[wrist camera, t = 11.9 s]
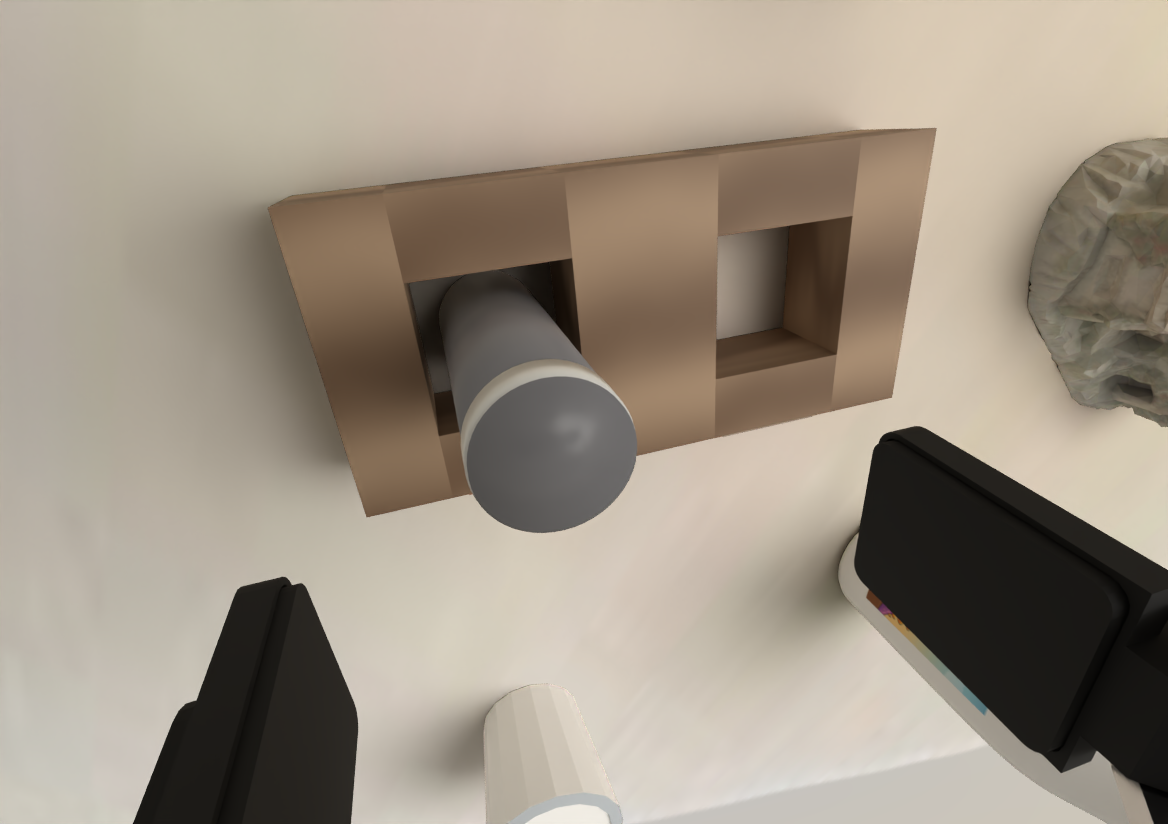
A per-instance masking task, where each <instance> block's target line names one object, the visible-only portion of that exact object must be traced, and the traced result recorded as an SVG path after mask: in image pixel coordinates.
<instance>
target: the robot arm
mask: <svg viewBox="0 0 1168 824" xmlns="http://www.w3.org/2000/svg"><path fill="white" fill-rule="evenodd" d="M854 567H855V571H856V574H857V576H858V577H859V579H860V580H861V582H862V583H863V584H864V585H865V586H866V587H867V588H868V589H869V590H870V591H871V592H872V593H873V594H874V595H875V596H876V597H877V598H878V599H879V600H880V601H881V602H882V603H883V604H884V605H885V606H886V607H887V608H888V609H889V610H890V611H891V612H892V613H893V614H894V615H895V616H896V617H897V618H898V619H899V620H900V621H901V622H902V623H903V624H904V625H905V626H906V627H907V628H908V629H909V630H910V631H911V632H912V633H913V634H914V635H915V636H916V637H917V638H918V639H919V640H920V641H921V642H922V643H923V644H924V645H925V646H926V647H927V648H928V649H929V650H930V651H931V652H932V653H933V654H934V655H935V656H936V657H937V658H938V659H939V660H940V661H941V662H942V663H943V664H944V665H945V666H946V667H947V668H948V669H949V670H950V671H951V672H952V673H953V674H954V675H955V676H956V677H957V678H958V679H959V680H960V681H961V682H962V683H963V684H964V685H965V686H966V687H967V688H968V689H969V690H970V691H971V692H972V693H973V694H974V695H975V696H976V697H977V698H978V699H979V700H980V701H981V702H982V703H983V704H984V705H985V706H986V707H987V708H988V709H989V710H990V711H991V712H992V713H993V714H994V715H995V716H996V717H997V718H998V719H999V720H1000V721H1001V722H1002V723H1003V724H1004V725H1005V726H1006V727H1007V728H1008V729H1009V730H1010V731H1011V732H1012V733H1013V734H1014V735H1015V736H1016V737H1017V738H1018V739H1019V740H1020V741H1021V742H1022V743H1023V744H1024V745H1025V746H1026V747H1027V748H1029V749H1031V750H1032V751H1034V752H1037V753H1040V754H1042V755H1043V756H1044V757H1045V758H1046V759H1047V760H1048V761H1049V762H1050V763H1051V764H1052V765H1053V766H1054V767H1055V768H1056V769H1057V770H1058V771H1059V772H1060V773H1063V772H1066V771H1068V770H1071V769H1073V768H1076V767H1078V766H1081V765H1083V764H1086V763H1088V762H1091V761H1092V759H1093V757H1094V755H1095V753H1096V751H1098V752H1099V753H1100V754H1101V755H1102V756H1104V757H1105V758H1106V759H1107V760H1108V761H1109V762H1110V763H1111V768H1112V772H1113V775H1114V778H1115V781H1116V784H1117V787H1118V790H1119V793H1120V796H1121V799H1122V802H1123V806H1124V809H1125V812H1126V815H1127V818H1128V821H1129V824H1168V570H1167V569H1165V568H1163V567H1162V566H1160V565H1158V564H1156V563H1155V562H1153V561H1151V560H1150V559H1148V558H1146V557H1145V556H1143V555H1141V554H1139V553H1138V552H1136V551H1134V550H1133V549H1131V548H1129V547H1127V546H1126V545H1124V544H1122V543H1121V542H1119V541H1117V540H1115V539H1114V538H1112V537H1110V536H1109V535H1107V534H1105V533H1103V532H1102V531H1100V530H1098V529H1097V528H1095V527H1093V526H1092V525H1090V524H1088V523H1086V522H1085V521H1083V520H1081V519H1080V518H1078V517H1076V516H1074V515H1073V514H1071V513H1069V512H1068V511H1066V510H1064V509H1062V508H1061V507H1059V506H1057V505H1056V504H1054V503H1052V502H1050V501H1049V500H1047V499H1045V498H1044V497H1042V496H1040V495H1038V494H1037V493H1035V492H1033V491H1032V490H1030V489H1028V488H1027V487H1025V486H1023V485H1021V484H1020V483H1018V482H1016V481H1015V480H1013V479H1011V478H1009V477H1008V476H1006V475H1004V474H1003V473H1001V472H999V471H997V470H996V469H994V468H992V467H991V466H989V465H987V464H985V463H984V462H982V461H980V460H979V459H977V458H975V457H973V456H972V455H970V454H968V453H967V452H965V451H963V450H962V449H960V448H958V447H956V446H955V445H953V444H951V443H950V442H948V441H946V440H944V439H943V438H941V437H939V436H938V435H936V434H934V433H932V432H931V431H929V430H927V429H925V428H923V427H920V426H914V427H910V428H906V429H901V430H897V431H893V432H889V433H886V434H884V435H883V436H882V437H881V439H880V441H879V444H877V445H876V446H875V448H874V450H873V455H872V460H871V466H870V472H869V477H868V483H867V489H866V495H865V500H864V506H863V512H862V517H861V523H860V529H859V535H858V540H857V546H856V552H855V557H854ZM357 738H358V718H357V712H356V707H355V704H354V701H353V699H352V697H351V694H350V692H349V689H348V687H347V685H346V682H345V680H344V677H343V675H342V673H341V670H340V668H339V665H338V663H337V661H336V658H335V656H334V653H333V651H332V649H331V646H330V644H329V641H328V639H327V637H326V634H325V632H324V629H323V627H322V625H321V622H320V620H319V617H318V615H317V613H316V610H315V608H314V605H313V603H312V601H311V598H310V596H309V593H308V591H307V589H306V587H305V586H304V585H303V584H301V583H300V584H296V585H292V584H291V583H290V581H289V580H288V579H287V578H286V577H280V578H276V579H272V580H268V581H263V582H259V583H255V584H251V585H247V586H242V587H240V588H239V589H238V590H237V592H236V594H235V596H234V599H233V601H232V604H231V607H230V610H229V612H228V615H227V618H226V621H225V623H224V626H223V629H222V632H221V634H220V637H219V640H218V643H217V645H216V648H215V651H214V654H213V656H212V659H211V662H210V665H209V667H208V670H207V673H206V676H205V679H204V681H203V684H202V687H201V690H200V692H199V695H198V698H197V701H193V702H190V703H186V704H185V705H184V706H183V707H182V708H181V709H180V710H179V711H178V713H177V715H176V717H175V719H174V721H173V723H172V725H171V727H170V730H169V733H168V735H167V738H166V740H165V743H164V745H163V748H162V751H161V753H160V756H159V758H158V761H157V763H156V766H155V768H154V771H153V774H152V776H151V779H150V781H149V784H148V786H147V789H146V792H145V794H144V797H143V799H142V802H141V804H140V807H139V810H138V812H137V815H136V817H135V820H134V822H133V824H351V814H352V802H353V789H354V776H355V763H356V751H357Z"/></svg>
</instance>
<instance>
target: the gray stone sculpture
mask: <svg viewBox="0 0 1168 824" xmlns="http://www.w3.org/2000/svg"><path fill="white" fill-rule="evenodd" d="M1029 281H1030V282H1031V286H1030V287H1029V289H1030V290H1031V291H1030V292H1029V298H1028V310H1029V312H1030V314H1031V316H1032V317H1033V318H1032V319H1033V320H1034V322H1035V325H1036V326H1037V328H1038V329H1039V331H1040V332H1041V333H1040V334H1041V335H1042V338H1043V339H1044V340H1045V341H1044V342H1045V344H1046V346H1047V348H1048V350H1049V352H1050V353H1052V359H1053V360H1054V361H1055V362H1056V364H1058V369H1059V370H1061V371H1060V373H1061V375H1062V377H1063V379H1064V381H1065V382H1066V386H1067V387H1068V389H1069V391H1070V394H1071V396H1072V398H1073V399H1074V400H1076V401H1077V402H1078V403H1079V404H1080V405H1084V406H1088V407H1092V408H1096V409H1099V408H1102V409H1108V410H1111V409H1113V408H1116V407H1118V406H1121V407H1123V406H1125V407H1127V408H1131V407H1132V408H1133V411H1134V413H1135V414H1137V415H1139V416H1142V417H1144V418H1146V419H1149V420H1152V421H1155V422H1157V423H1158V424H1159V425H1160V426H1161V427H1168V138H1158V139H1155V140H1152V139H1146V140H1140V141H1135V142H1127V143H1115V144H1113V145H1110V146H1107V147H1105V148H1104V149H1102V150H1101V151H1099V152H1098V153H1097V154H1095V155H1094V156H1092V157H1091V158H1089V159H1088V160H1085V164H1081V165H1080V166H1079V167H1078V169H1077V170H1076V172H1075V173H1074V174H1073V175H1072V176H1071V177H1070V178H1069V180H1068V181H1067V182H1066V183H1065V184H1064V186H1063V187H1062V188H1061V190H1060V191H1059V193H1058V194H1057V198H1056V199H1055V200H1054V201H1053V203H1052V204H1051V205H1050V206H1049V210H1048V212H1047V215H1046V217H1045V220H1044V223H1043V225H1042V228H1041V230H1040V233H1039V236H1038V239H1037V242H1036V246H1035V251H1034V256H1033V261H1032V266H1031V272H1030V278H1029Z"/></svg>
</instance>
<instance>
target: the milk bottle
mask: <svg viewBox="0 0 1168 824" xmlns="http://www.w3.org/2000/svg"><path fill="white" fill-rule="evenodd" d="M858 535H859V532H858V533H857V534H856V535H855V536H854V538H853V539H852V540H851V542H850V543H849V544H848V546H847V548H846V550H845V551H844V553H843V555H842V558H841V561H840V564H839V570H838V580H839V583H840V586H841V590H842V592H843V594H844V596H845V597H846V598H847V599H848V600H849V601H850V602H851V604H852V605H853V606H854V607H855V608H856V609H857V610H858V611H859V612H860V613H861V614H862V615H863V617H864V618H865V619H866V620H867V621H868V622H869V623H870V624H871V625H872V626H873V627H874V628H875V629H876V630H877V631H878V632H879V633H880V634H881V635H882V636H883V637H884V638H885V639H886V641H887V642H888V643H889V644H890V645H891V646H892V647H893V648H894V649H895V650H896V651H897V652H898V653H899V654H900V655H901V656H902V657H903V658H904V659H905V660H906V661H907V662H908V663H909V664H910V665H911V666H912V668H913V669H914V670H915V671H916V672H917V673H918V674H919V675H920V676H921V677H922V678H923V679H924V680H925V681H926V682H927V683H928V684H929V685H930V686H931V687H932V688H933V689H934V690H935V691H936V692H937V693H938V694H939V695H940V696H941V697H942V698H943V699H944V700H945V701H946V702H947V703H948V704H949V705H950V706H951V708H952V709H953V710H954V711H955V712H956V713H957V714H958V715H959V716H960V717H961V718H962V719H963V720H964V721H965V722H966V723H967V724H968V725H969V726H970V727H971V728H972V729H973V730H974V731H975V732H976V733H977V734H978V735H980V736H981V737H982V738H983V739H984V740H985V741H986V742H987V743H988V744H989V745H990V746H991V747H992V748H993V749H994V750H995V751H996V752H997V753H998V754H999V755H1000V756H1002V757H1003V758H1004V759H1005V760H1006V761H1007V762H1009V763H1010V764H1011V765H1012V766H1013V767H1015V768H1016V769H1017V770H1018V771H1020V772H1021V773H1022V774H1024V775H1025V776H1026V777H1028V778H1029V779H1030V780H1032V781H1033V782H1035V783H1036V784H1038V785H1039V786H1041V787H1042V788H1044V789H1045V790H1047V791H1049V792H1050V793H1052V794H1054V795H1056V796H1057V797H1059V798H1061V799H1063V800H1065V801H1066V802H1068V803H1070V804H1072V805H1074V806H1076V807H1078V808H1080V809H1082V810H1084V811H1085V812H1087V813H1089V814H1091V815H1093V816H1095V817H1097V818H1099V819H1100V820H1102V821H1104V822H1106V823H1107V824H1129V821H1128V818H1127V815H1126V812H1125V809H1124V806H1123V802H1122V799H1121V796H1120V793H1119V790H1118V787H1117V784H1116V781H1115V778H1114V775H1113V772H1112V768H1111V763H1110V762H1109V761H1108V760H1107V759H1106V758H1105V757H1104V756H1102V755H1101V754H1100V753H1099V752H1098V751H1096V753H1095V755H1094V757H1093V759H1092V761H1091V762H1088V763H1086V764H1083V765H1081V766H1078V767H1076V768H1073V769H1071V770H1068V771H1066V772H1063V773H1060V772H1059V771H1058V770H1057V769H1056V768H1055V767H1054V766H1053V765H1052V764H1051V763H1050V762H1049V761H1048V760H1047V759H1046V758H1045V757H1044V756H1043V755H1042V754H1040V753H1037V752H1034V751H1032V750H1031V749H1029V748H1027V747H1026V746H1025V745H1024V744H1023V743H1022V742H1021V741H1020V740H1019V739H1018V738H1017V737H1016V736H1015V735H1014V734H1013V733H1012V732H1011V731H1010V730H1009V729H1008V728H1007V727H1006V726H1005V725H1004V724H1003V723H1002V722H1001V721H1000V720H999V719H998V718H997V717H996V716H995V715H994V714H993V713H992V712H991V711H990V710H989V709H988V708H987V707H986V706H985V705H984V704H983V703H982V702H981V701H980V700H979V699H978V698H977V697H976V696H975V695H974V694H973V693H972V692H971V691H970V690H969V689H968V688H967V687H966V686H965V685H964V684H963V683H962V682H961V681H960V680H959V679H958V678H957V677H956V676H955V675H954V674H953V673H952V672H951V671H950V670H949V669H948V668H947V667H946V666H945V665H944V664H943V663H942V662H941V661H940V660H939V659H938V658H937V657H936V656H935V655H934V654H933V653H932V652H931V651H930V650H929V649H928V648H927V647H926V646H925V645H924V644H923V643H922V642H921V641H920V640H919V639H918V638H917V637H916V636H915V635H914V634H913V633H912V632H911V631H910V630H909V629H908V628H907V627H906V626H905V625H904V624H903V623H902V622H901V621H900V620H899V619H898V618H897V617H896V616H895V615H894V614H893V613H892V612H891V611H890V610H889V609H888V608H887V607H886V606H885V605H884V604H883V603H882V602H881V601H880V600H879V599H878V598H877V597H876V596H875V595H874V594H873V593H872V592H871V591H870V590H869V589H868V588H867V587H866V586H865V585H864V584H863V583H862V582H861V580H860V579H859V577H858V576H857V574H856V571H855V567H854V557H855V552H856V546H857V540H858Z"/></svg>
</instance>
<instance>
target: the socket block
mask: <svg viewBox="0 0 1168 824" xmlns="http://www.w3.org/2000/svg"><path fill="white" fill-rule="evenodd" d="M936 129H937V128H925V129H876V130H856V131H847V132H838V133H830V134H821V135H812V136H804V137H795V138H786V139H778V140H769V141H760V142H752V143H743V144H735V145H726V146H717V147H709V148H700V149H691V150H683V151H674V152H665V153H657V154H648V155H639V156H631V157H622V158H613V159H605V160H596V161H587V162H579V163H570V164H562V165H553V166H544V167H536V168H527V169H518V170H510V171H501V172H492V173H484V174H475V175H466V176H458V177H449V178H440V179H432V180H423V181H414V182H406V183H397V184H389V185H380V186H371V187H363V188H354V189H345V190H337V191H328V192H319V193H311V194H302V195H293V196H290V197H288V198H286V199H284V200H282V201H280V202H278V203H276V204H274V205H272V206H270V207H268V210H269V213H270V217H271V220H272V223H273V226H274V229H275V232H276V235H277V238H278V242H279V245H280V248H281V251H282V254H283V257H284V260H285V263H286V267H287V270H288V273H289V276H290V279H291V282H292V285H293V289H294V292H295V295H296V298H297V301H298V304H299V307H300V310H301V314H302V317H303V320H304V323H305V326H306V329H307V332H308V335H309V339H310V342H311V345H312V348H313V351H314V354H315V357H316V360H317V364H318V367H319V370H320V373H321V376H322V379H323V382H324V386H325V389H326V392H327V395H328V398H329V401H330V404H331V407H332V411H333V414H334V417H335V420H336V423H337V426H338V429H339V432H340V436H341V439H342V442H343V445H344V448H345V451H346V454H347V457H348V461H349V464H350V467H351V470H352V473H353V476H354V479H355V482H356V486H357V489H358V492H359V495H360V498H361V501H362V504H363V508H364V511H365V514H366V517H371V516H375V515H380V514H384V513H388V512H393V511H397V510H401V509H406V508H410V507H415V506H419V505H423V504H428V503H432V502H436V501H441V500H445V499H450V498H454V497H458V496H463V495H467V494H469V495H471V494H472V492H471V490H470V487H469V485H468V482H467V479H466V475H465V469H464V464H463V458H462V452H461V436H460V431H459V426H458V420H457V415H456V410H455V404H454V399H453V394H452V391H447V392H442V393H437V394H434V392H433V388H432V383H431V379H430V375H429V370H428V366H427V361H426V357H425V353H424V348H423V344H422V339H421V335H420V331H419V326H418V322H417V318H416V313H415V309H414V304H413V300H412V296H411V291H410V287H409V283H411V282H417V281H424V280H431V279H437V278H444V277H450V276H457V275H464V274H470V273H477V272H484V271H490V270H497V269H504V268H510V267H517V266H524V265H530V264H537V263H544V262H550V271H551V279H552V288H553V297H554V305H555V314H556V323H557V326H558V327H559V328H560V330H561V331H562V332H563V333H564V334H565V336H566V337H567V338H568V339H569V341H570V342H571V343H572V344H573V345H574V347H575V348H576V349H577V350H578V351H579V353H580V354H581V355H582V356H583V358H584V359H585V360H586V361H587V362H588V364H589V365H590V366H591V367H592V369H593V370H594V371H595V372H596V373H597V374H598V375H599V376H600V377H601V378H603V379H604V381H605V382H606V383H607V384H608V385H609V386H610V387H611V389H612V390H613V391H614V392H615V393H616V395H617V396H618V397H619V398H620V399H621V401H622V402H623V403H624V405H625V406H626V408H627V409H628V411H629V413H630V415H631V418H632V420H633V424H634V427H635V431H636V437H637V455H636V456H638V455H642V454H647V453H651V452H655V451H660V450H664V449H669V448H673V447H677V446H682V445H686V444H690V443H695V442H699V441H704V440H708V439H712V438H717V437H721V436H723V437H725V436H729V435H734V434H738V433H742V432H747V431H751V430H755V429H760V428H764V427H769V426H773V425H777V424H782V423H786V422H790V421H795V420H799V419H804V418H808V417H812V416H813V415H817V414H822V413H826V412H831V411H835V410H839V409H844V408H848V407H853V406H857V405H861V404H866V403H870V402H874V401H879V400H883V399H888V398H892V394H893V388H894V382H895V376H896V370H897V364H898V358H899V352H900V346H901V340H902V334H903V328H904V321H905V315H906V309H907V303H908V297H909V291H910V285H911V279H912V273H913V267H914V261H915V255H916V249H917V243H918V237H919V231H920V225H921V219H922V213H923V207H924V201H925V195H926V189H927V183H928V177H929V171H930V165H931V159H932V153H933V147H934V141H935V135H936ZM783 226H790V228H789V242H788V257H787V272H786V287H785V301H784V316H783V328H778V329H772V330H767V331H762V332H757V333H751V334H746V335H741V336H736V337H730V338H725V339H720V340H716V315H717V243H718V236H723V235H730V234H736V233H743V232H750V231H756V230H763V229H770V228H776V227H783Z"/></svg>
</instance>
